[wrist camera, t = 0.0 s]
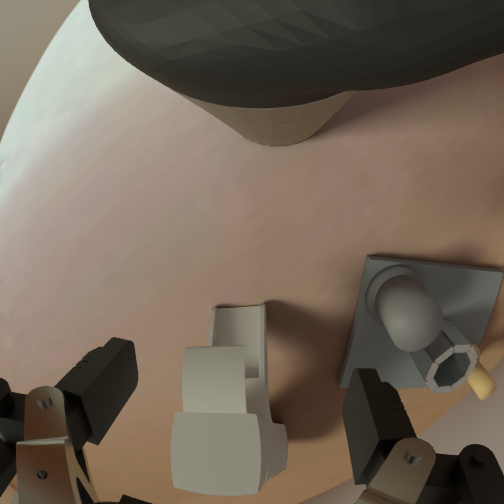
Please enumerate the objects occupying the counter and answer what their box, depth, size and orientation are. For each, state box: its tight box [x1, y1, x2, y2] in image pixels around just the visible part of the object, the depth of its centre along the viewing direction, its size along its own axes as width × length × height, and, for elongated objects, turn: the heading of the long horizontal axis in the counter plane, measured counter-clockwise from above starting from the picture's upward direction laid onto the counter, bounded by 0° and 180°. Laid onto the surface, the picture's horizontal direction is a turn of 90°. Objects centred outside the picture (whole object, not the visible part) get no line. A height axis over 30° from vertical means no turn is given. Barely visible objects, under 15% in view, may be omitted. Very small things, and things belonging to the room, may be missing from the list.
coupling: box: [409, 319, 478, 394], centre depth 24 cm, size 5×5×5 cm
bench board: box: [338, 255, 504, 400], centre depth 24 cm, size 14×16×8 cm
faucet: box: [171, 304, 288, 496], centre depth 26 cm, size 6×16×20 cm
